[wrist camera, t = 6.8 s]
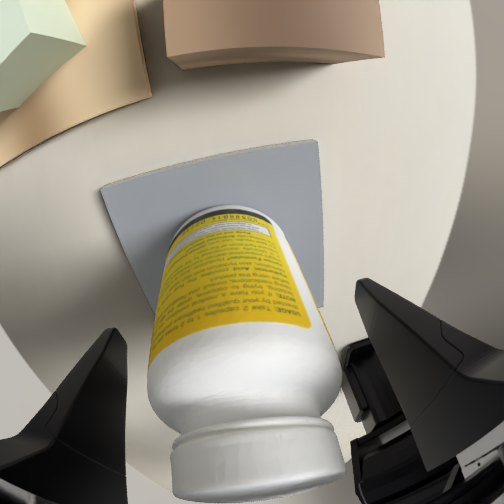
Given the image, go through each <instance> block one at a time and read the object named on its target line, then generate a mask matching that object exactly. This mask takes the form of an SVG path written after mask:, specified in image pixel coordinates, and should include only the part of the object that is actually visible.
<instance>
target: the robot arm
mask: <svg viewBox="0 0 504 504" xmlns="http://www.w3.org/2000/svg"><path fill="white" fill-rule="evenodd" d="M355 302H356V305H357V308H358V310H359V313H360V316H361V318H362V321H363V324H364V326H365V329H366V332H367V334H368V337H369V340H366V341H363V342H360V343H356V344H354V345H352V346H351V347H350V348H349V349H348V354H347V360H346V365H345V367H344V369H343V372H342V383H341V387H342V389H343V392H344V394H345V397H346V400H347V402H348V405H349V408H350V410H351V413H352V416H353V418H354V421H355V422H357V423H358V422H361V421H362V423H363V426H364V428H365V431H366V433H367V434H366V435H364V436H362V437H360V438H356V439H354V440H352V441H351V442H350V444H351V456H352V464H353V473H354V483H355V492H356V495H357V496H358V497H359V500H360V501H361V503H362V504H504V350H502V349H498V348H495V347H492V346H491V345H488V344H486V343H484V342H482V341H480V340H478V339H476V338H474V337H472V336H470V335H468V334H466V333H464V332H462V331H460V330H458V329H456V328H455V327H452V326H451V325H449V324H448V323H446V322H444V321H442V320H440V319H439V318H437V317H436V316H434V315H432V314H430V313H429V312H427V311H425V310H424V309H422V308H420V307H419V306H417V305H415V304H413V303H412V302H410V301H408V300H406V299H405V298H403V297H401V296H399V295H398V294H396V293H394V292H392V291H391V290H389V289H387V288H385V287H383V286H382V285H380V284H378V283H376V282H375V281H373V280H371V279H369V278H363V279H359V280H357V282H356V289H355ZM126 398H127V344H126V341H125V340H124V338H123V337H122V335H121V334H120V332H119V331H118V329H116V328H108V329H106V330H105V331H104V332H103V333H102V334H101V335H100V337H99V338H98V339H97V340H96V341H95V342H94V344H93V345H92V346H91V347H90V348H89V350H88V351H87V352H86V353H85V354H84V356H83V357H82V358H81V359H80V360H79V362H78V363H77V364H76V365H75V367H74V368H73V369H72V370H71V371H70V373H69V374H68V375H67V376H66V378H65V379H64V380H63V381H62V383H61V384H60V385H59V387H58V388H57V389H56V391H55V392H54V393H53V394H52V396H51V397H50V398H49V399H48V401H47V402H46V403H45V404H44V406H43V407H42V408H41V409H40V410H39V411H38V413H37V414H36V415H35V416H34V417H33V418H32V419H31V421H30V422H29V423H28V424H27V425H26V426H25V428H24V429H23V430H22V431H21V432H20V433H19V434H17V435H16V436H14V437H11V438H7V439H2V440H0V504H128V500H127V485H126V466H125V421H126Z"/></svg>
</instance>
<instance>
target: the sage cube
mask: <svg viewBox="0 0 504 504" xmlns="http://www.w3.org/2000/svg"><path fill="white" fill-rule="evenodd" d="M86 46H87V45H86V43H85V41H84V39H83V37H82V35H81V33H80V31H79V29H78V27H77V25H76V23H75V21H74V19H73V17H72V15H71V12H70V10H69V8H68V6H67V4H66V2H65V0H0V112H1V111H5V110H9V109H14V108H18V107H20V106H21V105H22V104H23V103H24V101H25V100H26V99H27V98H28V97H29V96H30V95H31V94H32V93H33V92H34V91H35V90H36V89H37V88H38V87H39V86H40V85H41V84H42V83H43V82H44V81H45V80H46V79H48V78H49V77H50V76H51V75H52V74H53V73H54V72H55V71H56V70H57V69H59V68H60V67H61V66H62V65H63V64H64V63H66V62H67V61H68V60H69V59H70V58H72V57H73V56H74V55H75V54H77V53H78V52H79V51H81V50H82V49H83V48H85V47H86Z"/></svg>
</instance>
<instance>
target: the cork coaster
mask: <svg viewBox="0 0 504 504" xmlns="http://www.w3.org/2000/svg"><path fill="white" fill-rule="evenodd" d="M65 2H66V4H67V6H68V8H69V10H70V12H71V15H72V17H73V19H74V21H75V23H76V25H77V27H78V29H79V31H80V33H81V35H82V37H83V39H84V41H85V43H86V45H87V46H86V47H85V48H83V49H82V50H81V51H79V52H78V53H77V54H75V55H74V56H73V57H72V58H70V59H69V60H68V61H67V62H66V63H64V64H63V65H62V66H61V67H60V68H59V69H57V70H56V71H55V72H54V73H53V74H52V75H51V76H50V77H49V78H48V79H46V80H45V81H44V82H43V83H42V84H41V85H40V86H39V87H38V88H37V89H36V90H35V91H34V92H33V93H32V94H31V95H30V96H29V97H28V98H27V99H26V100H25V101H24V103H23V104H22V105H21V106H20V107H18V108H14V109H9V110H5V111H1V112H0V167H1V166H3V165H4V164H6V163H7V162H9V161H10V160H12V159H14V158H15V157H17V156H18V155H20V154H22V153H23V152H25V151H27V150H29V149H30V148H32V147H34V146H36V145H38V144H39V143H41V142H43V141H45V140H47V139H49V138H51V137H53V136H55V135H57V134H59V133H61V132H63V131H65V130H67V129H69V128H71V127H73V126H76V125H78V124H80V123H82V122H85V121H87V120H89V119H92V118H94V117H96V116H99V115H101V114H104V113H106V112H109V111H112V110H114V109H117V108H120V107H123V106H125V105H128V104H131V103H134V102H137V101H140V100H144V99H147V98H150V97H152V93H151V88H150V83H149V78H148V73H147V68H146V63H145V58H144V52H143V47H142V41H141V35H140V29H139V23H138V17H137V10H136V3H135V0H65Z"/></svg>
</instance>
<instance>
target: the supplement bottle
mask: <svg viewBox="0 0 504 504" xmlns="http://www.w3.org/2000/svg"><path fill="white" fill-rule="evenodd" d="M341 383H342V369H341V364H340V361H339V358H338V355H337V352H336V350H335V347H334V344H333V342H332V339H331V337H330V335H329V332H328V330H327V328H326V325H325V323H324V321H323V319H322V316H321V314H320V312H319V309H318V307H317V305H316V303H315V300H314V298H313V296H312V293H311V291H310V289H309V287H308V284H307V282H306V280H305V278H304V276H303V273H302V271H301V269H300V266H299V264H298V262H297V260H296V258H295V256H294V253H293V251H292V249H291V247H290V245H289V243H288V241H287V238H286V237H285V235H284V233H283V232H282V230H281V229H280V227H279V226H278V225H277V224H276V223H275V222H274V221H273V220H272V219H271V218H269V217H268V216H267V215H265V214H263V213H262V212H260V211H257V210H255V209H252V208H249V207H245V206H239V205H223V206H216V207H212V208H209V209H206V210H204V211H201V212H199V213H197V214H196V215H194V216H193V217H191V218H190V219H188V220H187V221H186V222H185V223H184V224H183V225H182V226H181V227H180V229H179V230H178V231H177V233H176V234H175V236H174V238H173V240H172V242H171V244H170V247H169V250H168V253H167V257H166V262H165V267H164V272H163V277H162V283H161V288H160V293H159V298H158V303H157V309H156V315H155V321H154V327H153V334H152V341H151V348H150V356H149V364H148V374H147V391H148V398H149V401H150V404H151V406H152V408H153V410H154V411H155V413H156V414H157V415H158V417H159V418H160V419H161V420H162V421H163V422H164V423H165V424H166V425H168V426H169V427H170V428H172V429H174V430H175V431H177V432H179V433H181V436H180V437H178V438H177V439H176V440H175V441H174V443H173V445H172V449H173V452H172V453H171V457H170V459H171V466H172V488H173V494H174V495H175V497H177V498H180V499H183V500H188V501H194V502H204V503H240V502H241V503H242V502H254V501H262V500H269V499H275V498H281V497H286V496H290V495H295V494H298V493H303V492H306V491H310V490H313V489H316V488H319V487H322V486H324V485H327V484H329V483H332V482H334V481H336V480H338V479H340V478H341V477H343V476H344V475H345V473H346V466H345V463H344V459H343V456H342V453H341V449H340V446H339V442H338V439H337V436H336V434H335V432H334V428H333V426H332V424H331V423H330V422H329V421H327V420H325V419H322V418H321V417H320V416H321V415H322V414H324V413H325V412H326V411H327V410H328V409H329V408H330V407H331V405H332V404H333V403H334V401H335V399H336V398H337V396H338V394H339V391H340V388H341Z"/></svg>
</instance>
